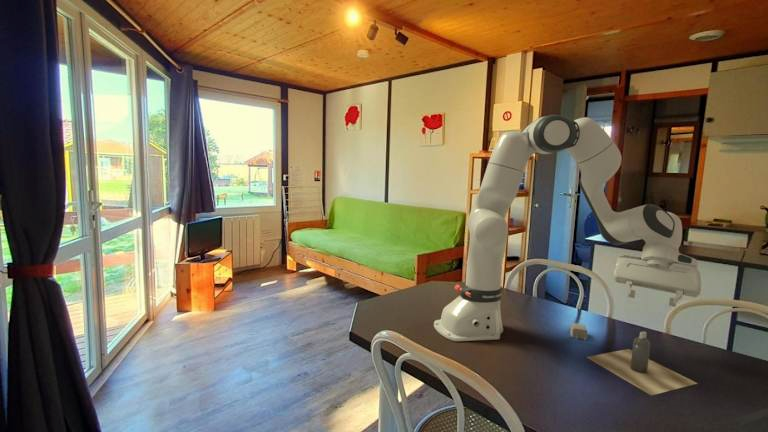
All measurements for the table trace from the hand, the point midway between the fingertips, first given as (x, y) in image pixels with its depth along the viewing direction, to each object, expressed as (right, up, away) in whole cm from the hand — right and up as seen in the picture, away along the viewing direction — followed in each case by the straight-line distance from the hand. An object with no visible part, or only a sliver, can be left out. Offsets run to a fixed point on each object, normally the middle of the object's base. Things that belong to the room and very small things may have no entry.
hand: (651, 300), depth 104 cm
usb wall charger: (-15, -15, +11) cm, 24 cm away
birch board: (-8, -17, -7) cm, 20 cm away
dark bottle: (-8, -16, -7) cm, 20 cm away
